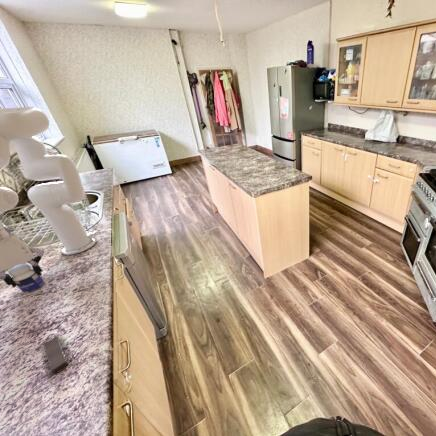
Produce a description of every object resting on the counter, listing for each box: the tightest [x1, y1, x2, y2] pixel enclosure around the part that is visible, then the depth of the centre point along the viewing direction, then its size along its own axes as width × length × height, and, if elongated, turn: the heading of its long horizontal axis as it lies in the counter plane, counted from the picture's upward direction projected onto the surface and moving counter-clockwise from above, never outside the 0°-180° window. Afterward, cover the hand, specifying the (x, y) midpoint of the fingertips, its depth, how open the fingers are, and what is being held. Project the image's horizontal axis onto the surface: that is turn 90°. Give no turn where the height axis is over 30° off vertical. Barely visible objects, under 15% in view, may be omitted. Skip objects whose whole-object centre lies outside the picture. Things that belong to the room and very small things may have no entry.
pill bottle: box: [8, 263, 47, 296], centre depth 80 cm, size 6×6×10 cm
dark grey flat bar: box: [43, 335, 69, 374], centre depth 63 cm, size 12×3×1 cm, turn 51°
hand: (27, 278), depth 80 cm, fingers closed on pill bottle, 5 cm apart
